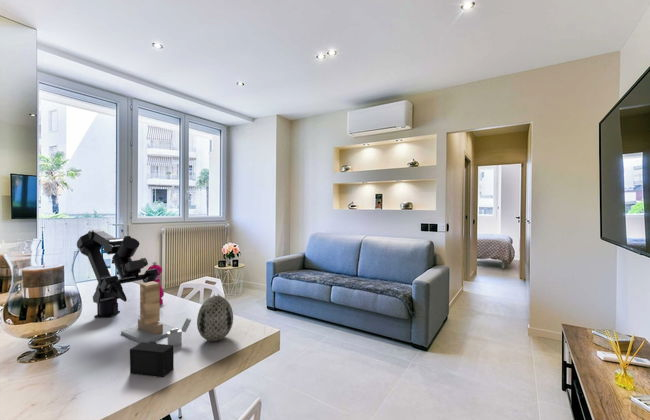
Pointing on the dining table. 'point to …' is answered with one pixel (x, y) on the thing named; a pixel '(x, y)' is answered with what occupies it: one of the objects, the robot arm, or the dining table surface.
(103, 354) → the dining table surface
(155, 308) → the oak block
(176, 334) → the lighter
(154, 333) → the ridge stand
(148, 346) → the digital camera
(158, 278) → the pepper mill
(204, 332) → the decorative egg
